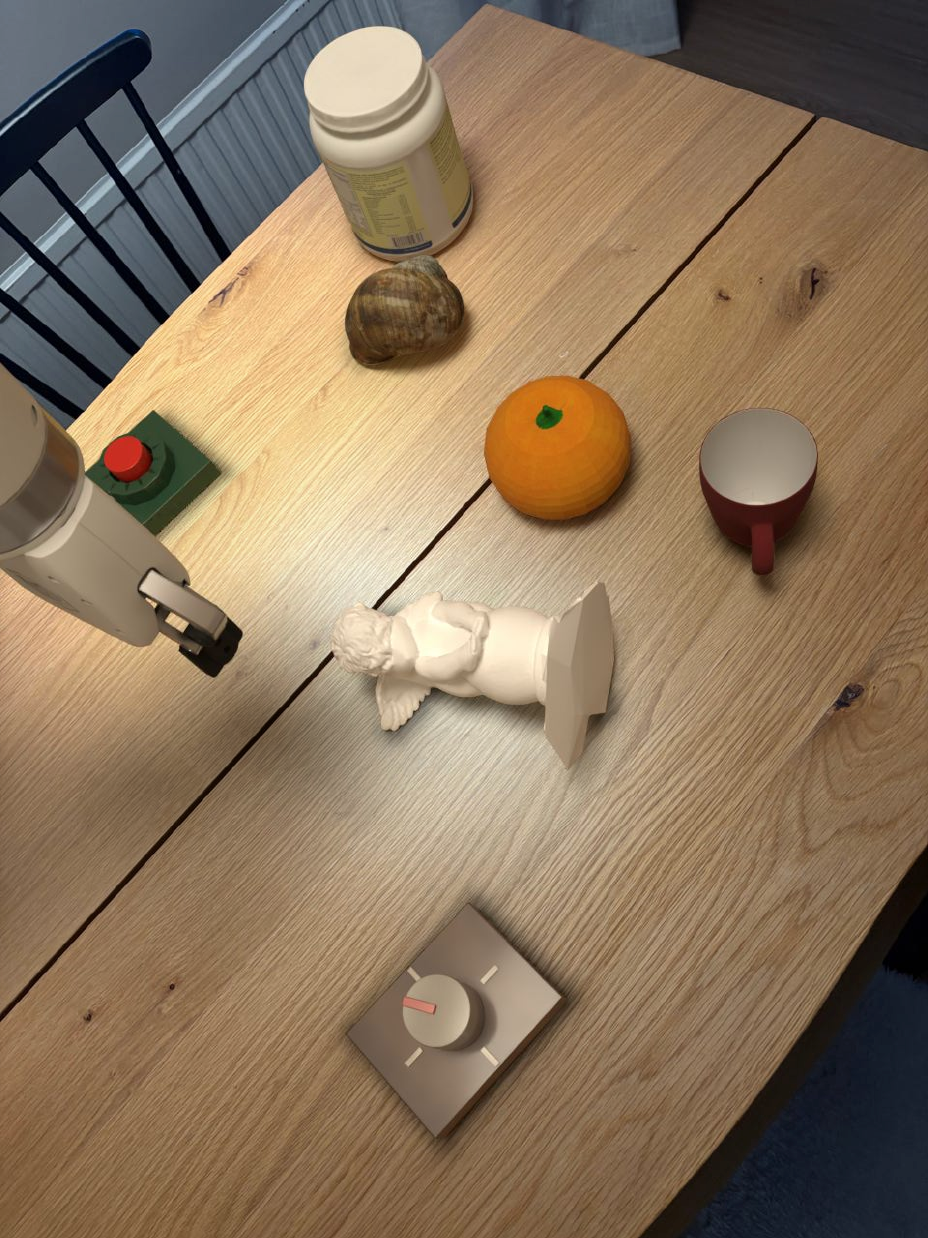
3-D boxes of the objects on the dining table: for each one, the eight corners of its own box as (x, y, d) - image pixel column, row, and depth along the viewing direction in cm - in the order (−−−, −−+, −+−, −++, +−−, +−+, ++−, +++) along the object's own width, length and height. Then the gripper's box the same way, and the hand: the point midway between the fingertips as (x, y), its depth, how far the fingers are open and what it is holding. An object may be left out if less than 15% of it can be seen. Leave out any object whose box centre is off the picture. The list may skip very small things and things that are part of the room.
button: (129, 489, 96) (119, 479, 94) (106, 467, 97) (96, 457, 96) (159, 461, 96) (150, 450, 95) (136, 439, 98) (126, 429, 96)
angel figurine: (382, 696, 91) (369, 554, 88) (616, 720, 84) (613, 566, 80) (298, 766, 80) (279, 605, 76) (562, 802, 72) (556, 625, 68)
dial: (491, 990, 73) (477, 982, 69) (475, 1059, 72) (458, 1056, 67) (430, 973, 74) (411, 965, 70) (412, 1041, 73) (392, 1036, 69)
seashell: (482, 298, 100) (463, 236, 93) (456, 384, 97) (434, 326, 90) (369, 290, 103) (342, 230, 96) (340, 372, 100) (310, 316, 93)
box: (139, 551, 97) (116, 529, 94) (84, 496, 101) (60, 473, 97) (221, 473, 99) (202, 449, 95) (164, 422, 102) (143, 397, 99)
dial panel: (444, 1138, 72) (434, 1139, 70) (356, 1036, 76) (344, 1033, 74) (568, 1000, 74) (562, 997, 72) (475, 907, 78) (467, 901, 76)
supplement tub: (425, 150, 109) (376, -4, 94) (502, 210, 104) (463, 57, 89) (330, 224, 108) (265, 80, 93) (403, 289, 103) (346, 147, 88)
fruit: (658, 499, 88) (650, 430, 79) (523, 557, 88) (500, 495, 80) (601, 391, 93) (587, 315, 84) (474, 447, 94) (447, 378, 85)
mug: (828, 588, 82) (840, 524, 73) (719, 608, 83) (718, 548, 74) (795, 469, 86) (803, 395, 77) (692, 490, 88) (688, 420, 79)
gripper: (-177, 478, 53) (25, 621, 68) (82, 613, 46) (242, 737, 62) (-81, 357, 55) (95, 522, 70) (180, 470, 48) (311, 625, 64)
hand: (163, 623), depth 66 cm, fingers open, 9 cm apart
